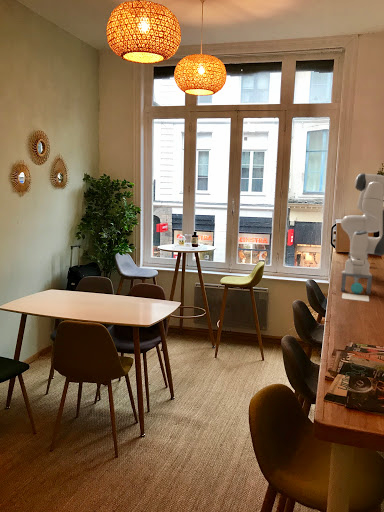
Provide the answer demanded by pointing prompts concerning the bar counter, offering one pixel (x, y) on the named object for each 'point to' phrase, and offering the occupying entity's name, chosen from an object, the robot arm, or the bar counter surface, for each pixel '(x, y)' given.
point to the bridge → (357, 276)
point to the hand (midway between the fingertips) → (355, 283)
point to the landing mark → (355, 297)
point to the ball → (356, 288)
